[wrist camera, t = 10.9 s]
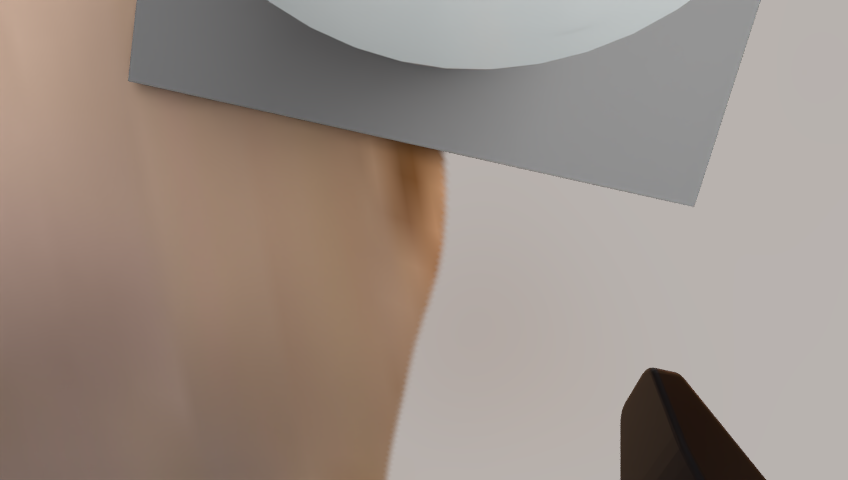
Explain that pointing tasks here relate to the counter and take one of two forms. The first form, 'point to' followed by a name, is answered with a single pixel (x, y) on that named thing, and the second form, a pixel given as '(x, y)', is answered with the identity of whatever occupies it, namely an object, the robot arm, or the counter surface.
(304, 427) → the counter surface
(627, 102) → the holder
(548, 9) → the white mug
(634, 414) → the robot arm
